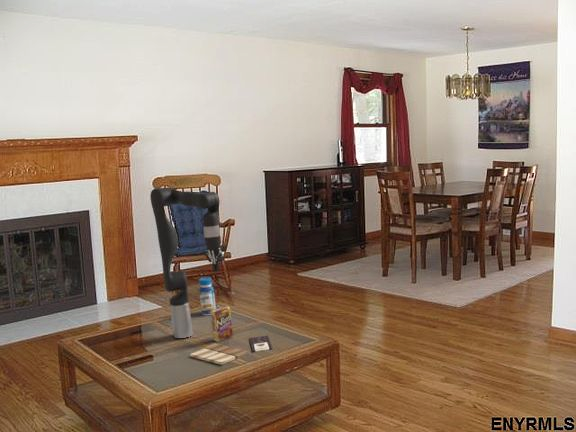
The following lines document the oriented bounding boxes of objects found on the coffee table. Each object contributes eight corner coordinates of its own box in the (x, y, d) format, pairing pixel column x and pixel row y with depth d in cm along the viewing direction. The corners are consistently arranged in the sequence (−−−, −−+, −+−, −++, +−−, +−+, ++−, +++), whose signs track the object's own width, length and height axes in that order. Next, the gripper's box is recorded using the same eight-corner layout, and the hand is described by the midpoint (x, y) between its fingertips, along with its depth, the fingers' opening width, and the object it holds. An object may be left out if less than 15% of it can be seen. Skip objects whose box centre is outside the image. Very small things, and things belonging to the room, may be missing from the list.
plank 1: (190, 356, 268) (190, 353, 267) (204, 350, 273) (203, 348, 273) (205, 360, 261) (204, 357, 261) (218, 354, 267) (218, 351, 267)
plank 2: (206, 360, 260) (206, 358, 260) (219, 354, 266) (219, 352, 266) (221, 365, 254) (221, 362, 253) (235, 358, 260) (235, 356, 259)
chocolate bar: (267, 335, 284) (272, 348, 267) (268, 337, 285) (272, 350, 267) (249, 338, 283) (252, 351, 266) (249, 340, 283) (252, 353, 266)
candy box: (217, 342, 283) (213, 311, 281) (213, 340, 287) (209, 310, 284) (233, 337, 288) (230, 307, 286) (229, 335, 291) (226, 305, 289)
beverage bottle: (219, 312, 332) (215, 277, 329) (208, 316, 325) (204, 281, 323) (209, 310, 337) (205, 276, 334) (198, 314, 331) (194, 280, 328)
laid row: (204, 350, 274) (204, 347, 274) (214, 345, 279) (214, 343, 279) (237, 358, 260) (236, 356, 259) (247, 353, 264) (247, 351, 264)
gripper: (196, 236, 276) (201, 271, 279) (215, 237, 268) (219, 274, 270) (208, 232, 282) (213, 268, 284) (227, 234, 273) (231, 270, 276)
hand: (216, 271), depth 277 cm, fingers closed
